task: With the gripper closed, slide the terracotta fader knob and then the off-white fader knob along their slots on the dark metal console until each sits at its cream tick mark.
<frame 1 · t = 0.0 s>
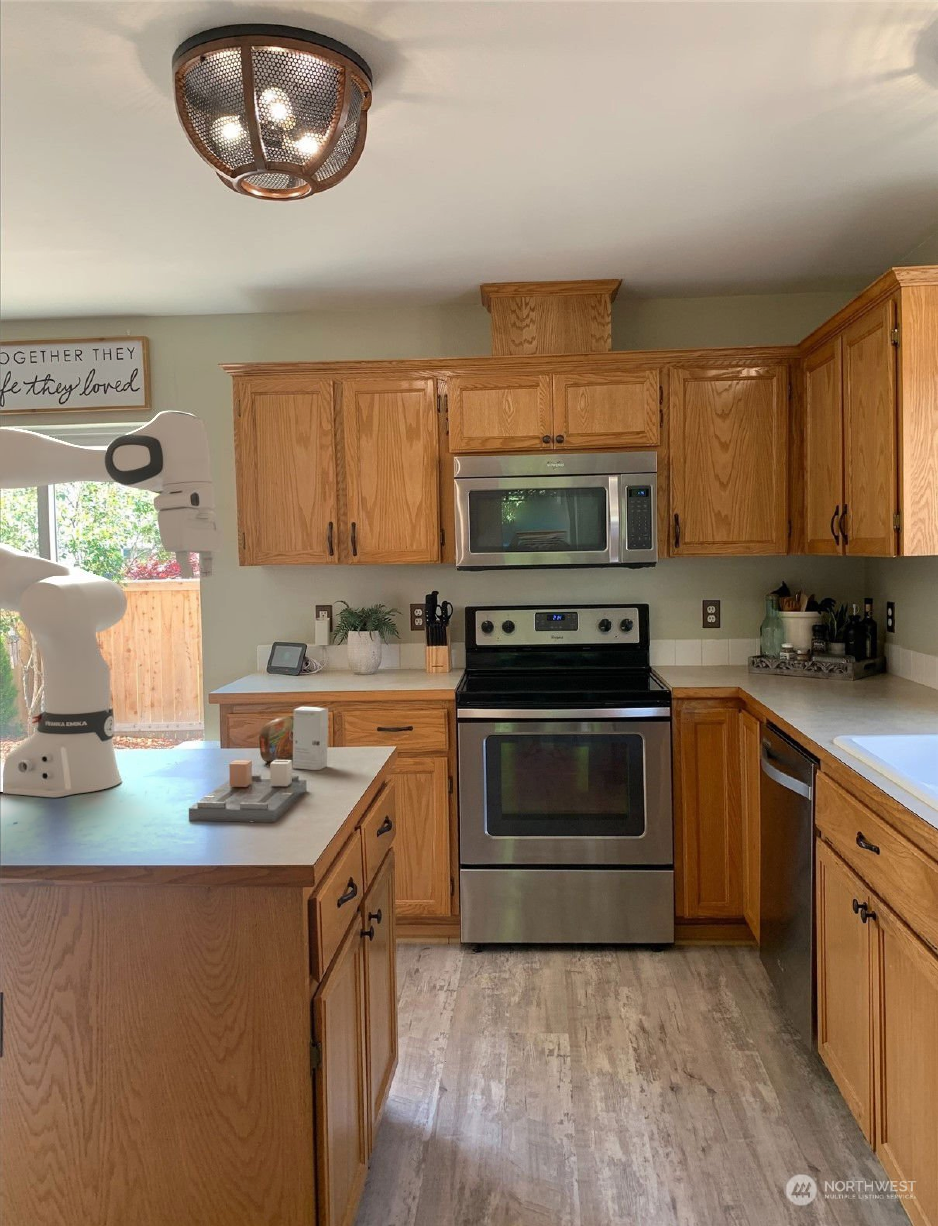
hand: (198, 577, 163), 39 cm above the table, tool pointing down, fingers open, 8 cm apart
fader a: (240, 773, 159), point 4 cm above the table, slide at 5.0 cm
skincare box: (310, 768, 182), on the table
tin: (278, 759, 190), on the table
console: (251, 804, 154), on the table
fader b: (281, 772, 159), point 4 cm above the table, slide at 6.0 cm
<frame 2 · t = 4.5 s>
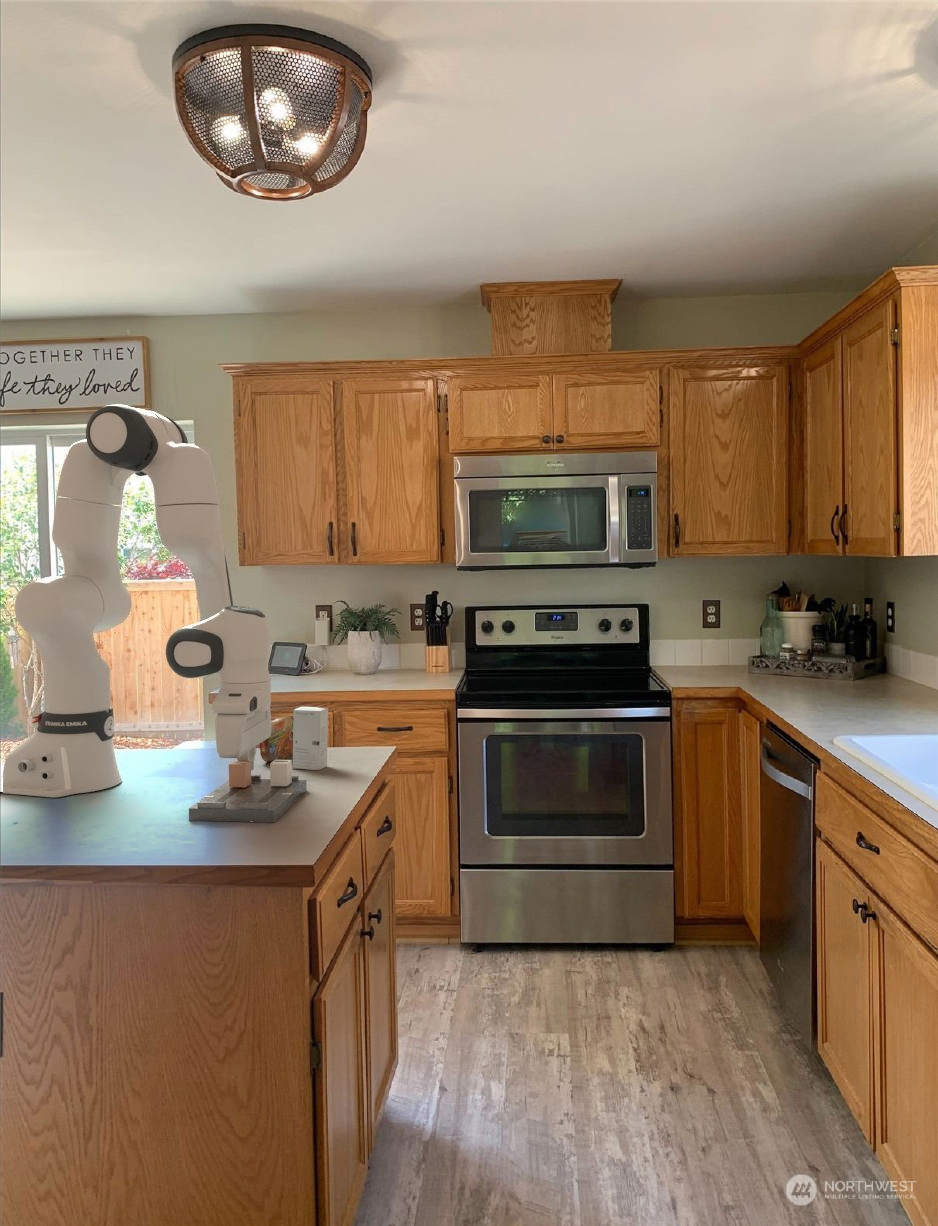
hand: (246, 772, 162), 4 cm above the table, tool pointing down, fingers closed
fader a: (240, 773, 158), point 4 cm above the table, slide at 4.6 cm, touching gripper
everything else where it was.
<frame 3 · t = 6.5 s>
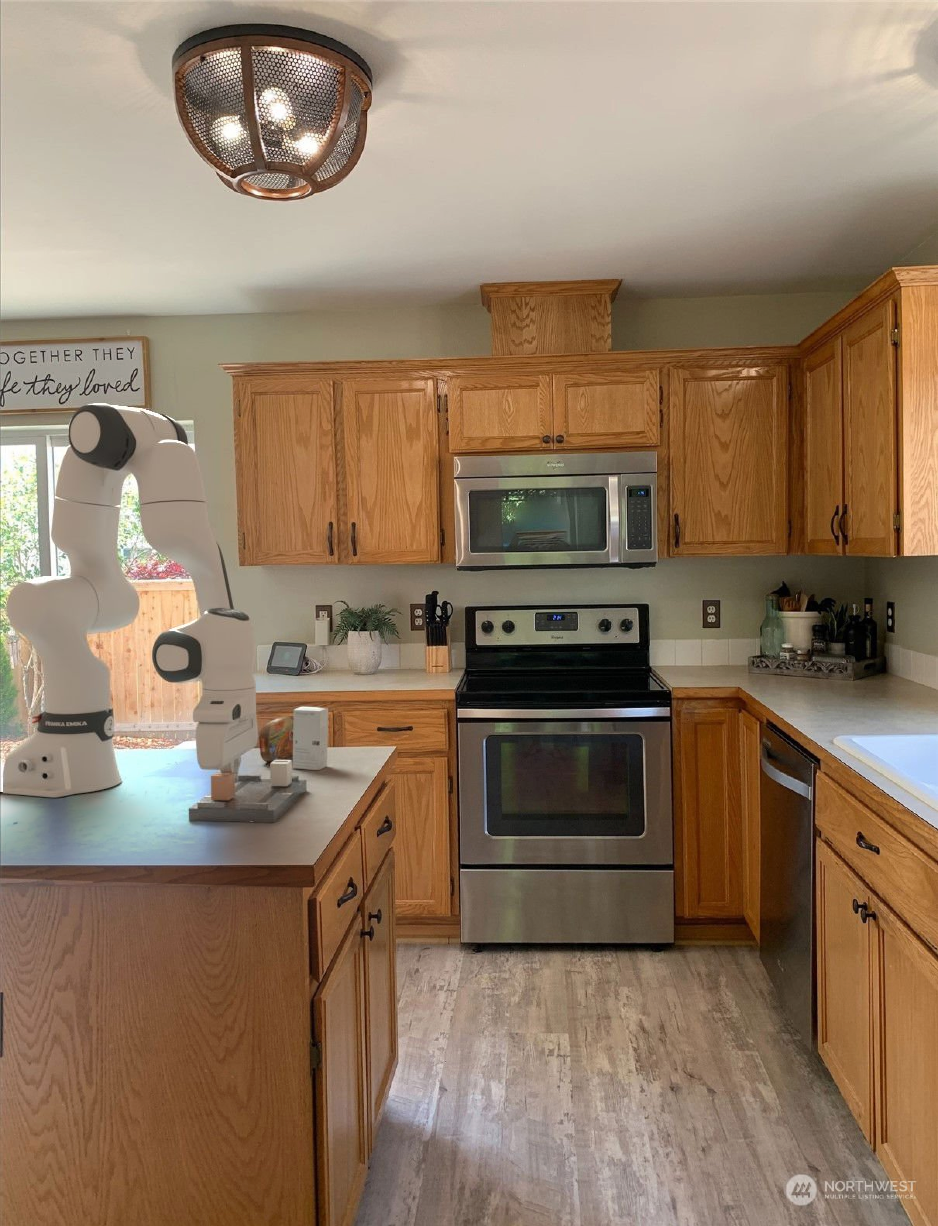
hand: (230, 784, 153), 4 cm above the table, tool pointing down, fingers closed
fader a: (223, 785, 150), point 4 cm above the table, slide at -3.9 cm, touching gripper
everything else where it was.
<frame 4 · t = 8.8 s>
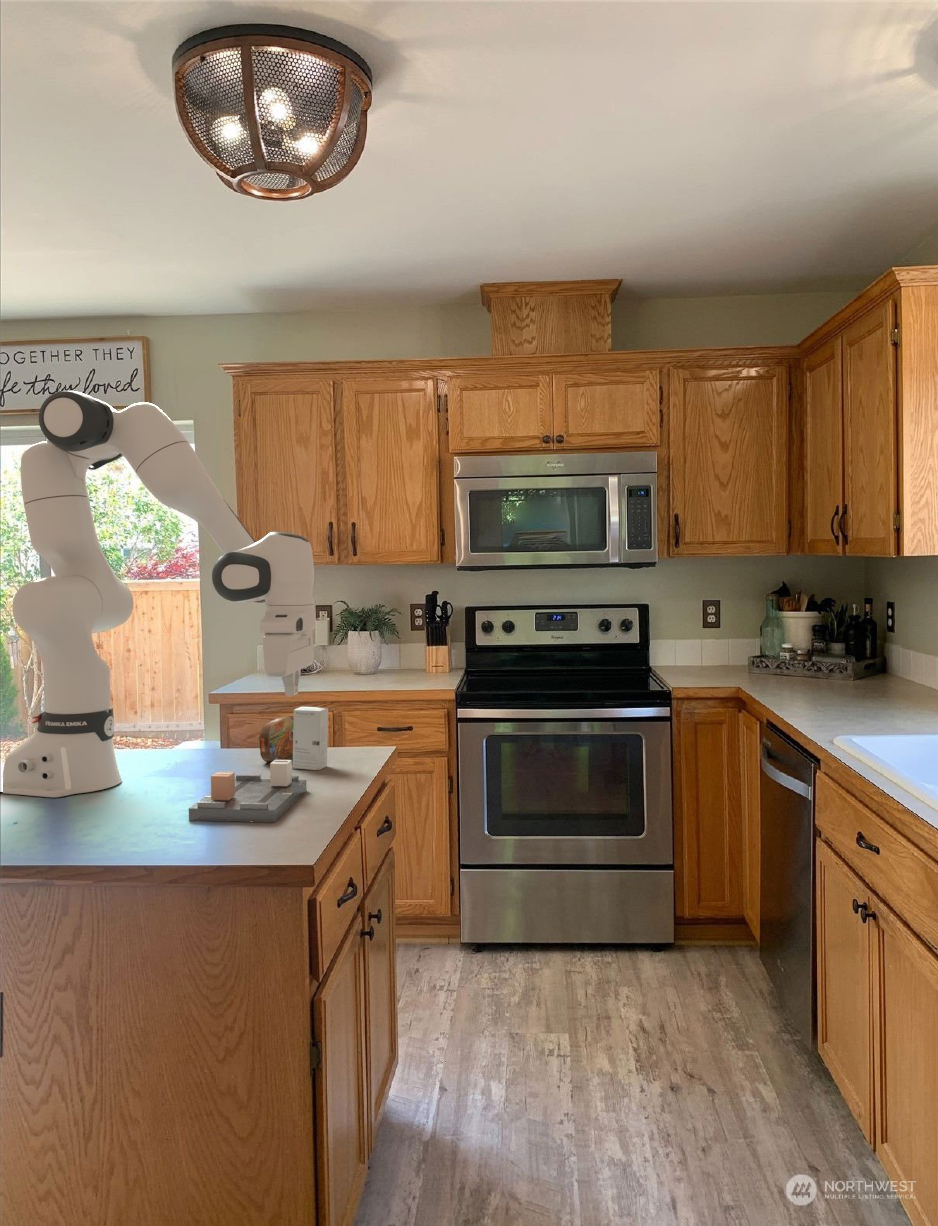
hand: (291, 695, 165), 17 cm above the table, tool pointing down, fingers closed
fader a: (223, 785, 150), point 4 cm above the table, slide at -3.9 cm
everything else where it was.
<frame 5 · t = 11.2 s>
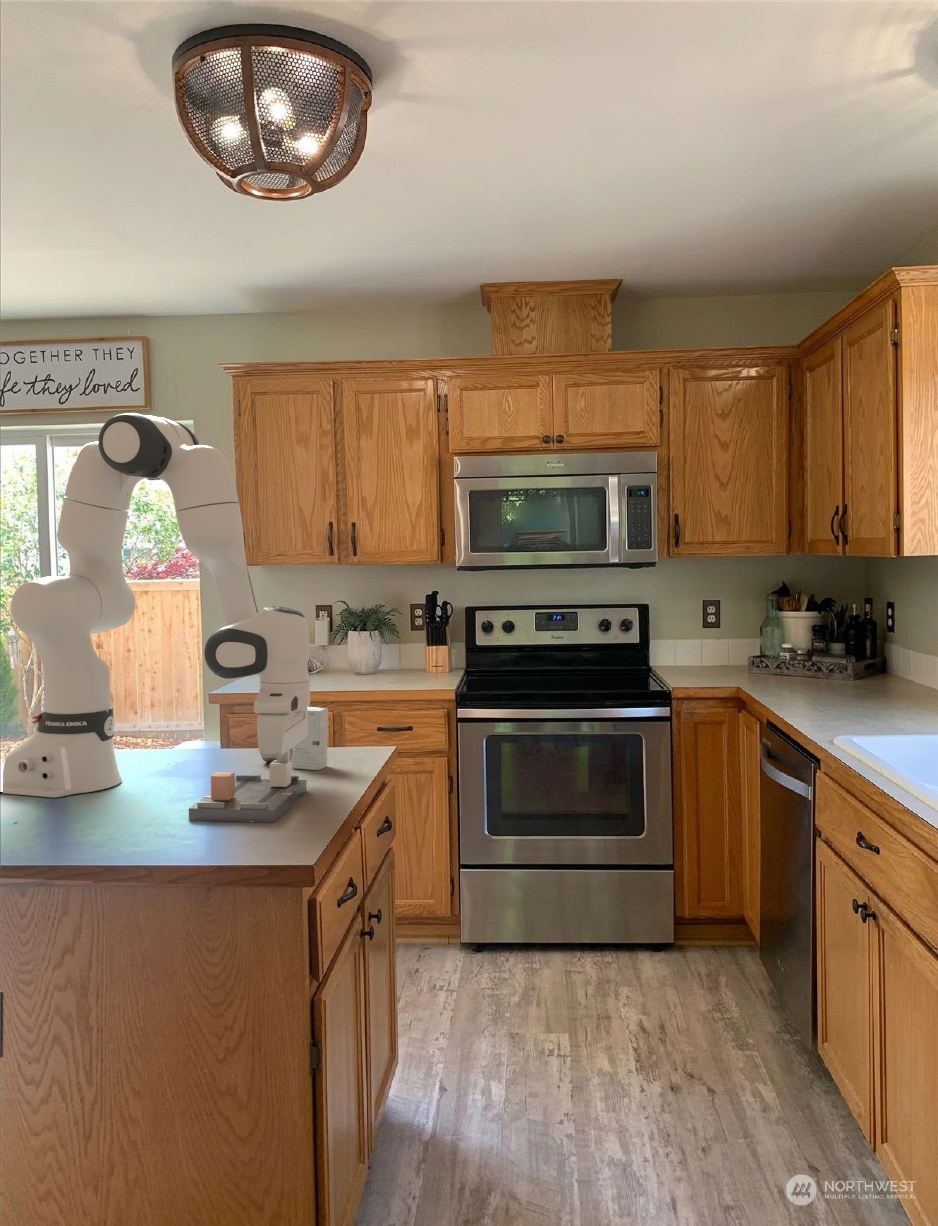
hand: (285, 772, 162), 4 cm above the table, tool pointing down, fingers closed
fader b: (280, 773, 159), point 4 cm above the table, slide at 5.5 cm, touching gripper
everything else where it was.
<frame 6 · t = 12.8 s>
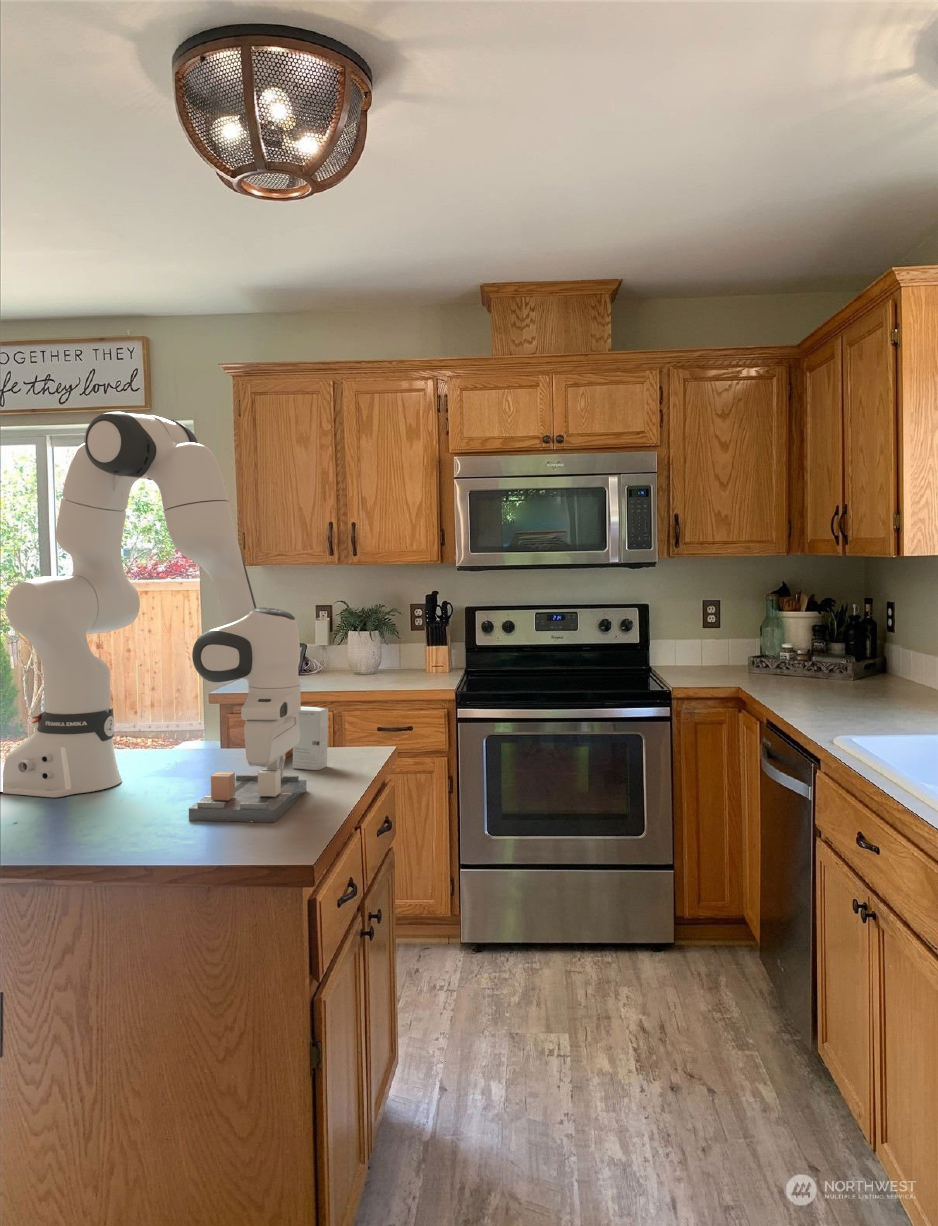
hand: (275, 780, 156), 4 cm above the table, tool pointing down, fingers closed
fader b: (269, 782, 152), point 4 cm above the table, slide at -0.9 cm, touching gripper
everything else where it was.
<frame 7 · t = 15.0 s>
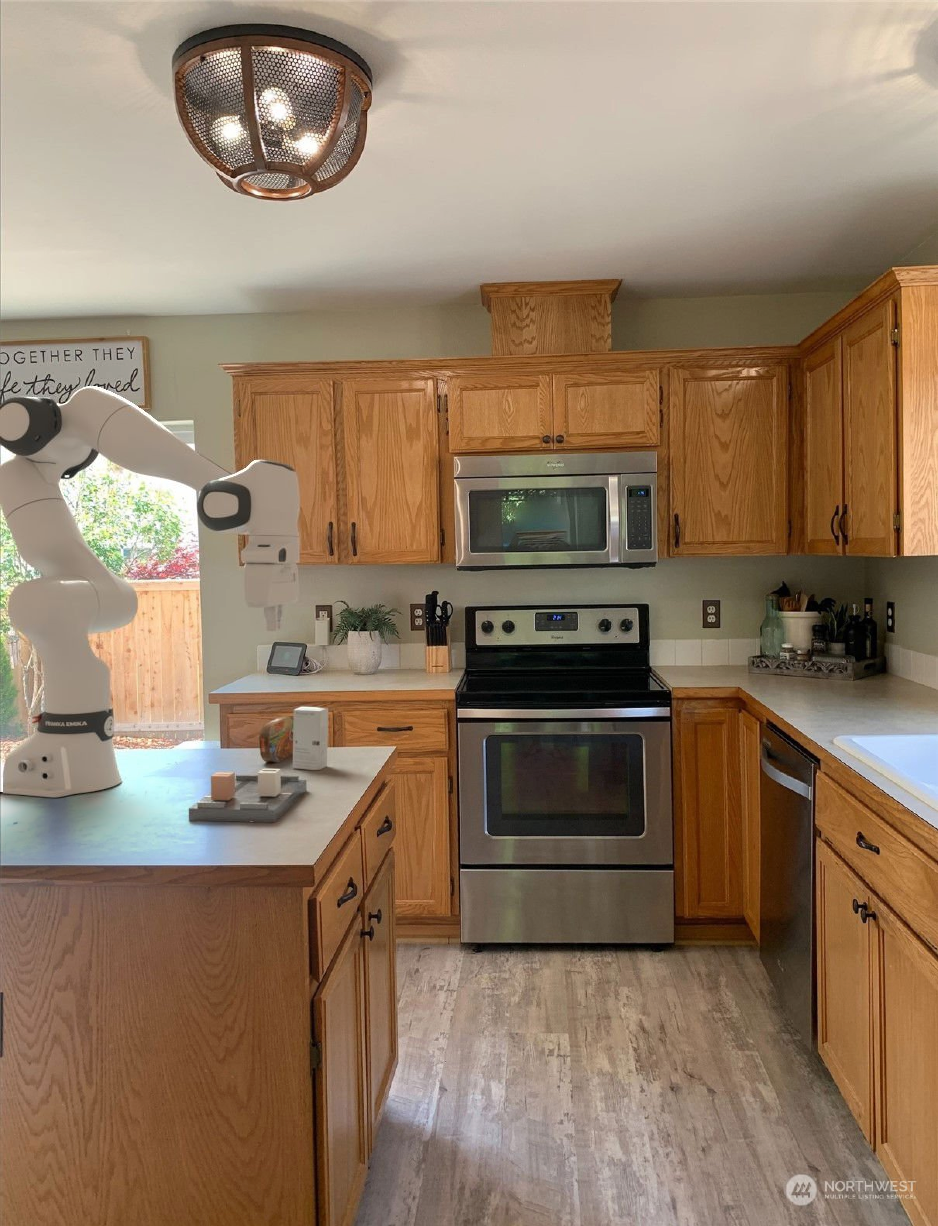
hand: (273, 630, 159), 29 cm above the table, tool pointing down, fingers closed
fader b: (269, 782, 152), point 4 cm above the table, slide at -0.9 cm
everything else where it was.
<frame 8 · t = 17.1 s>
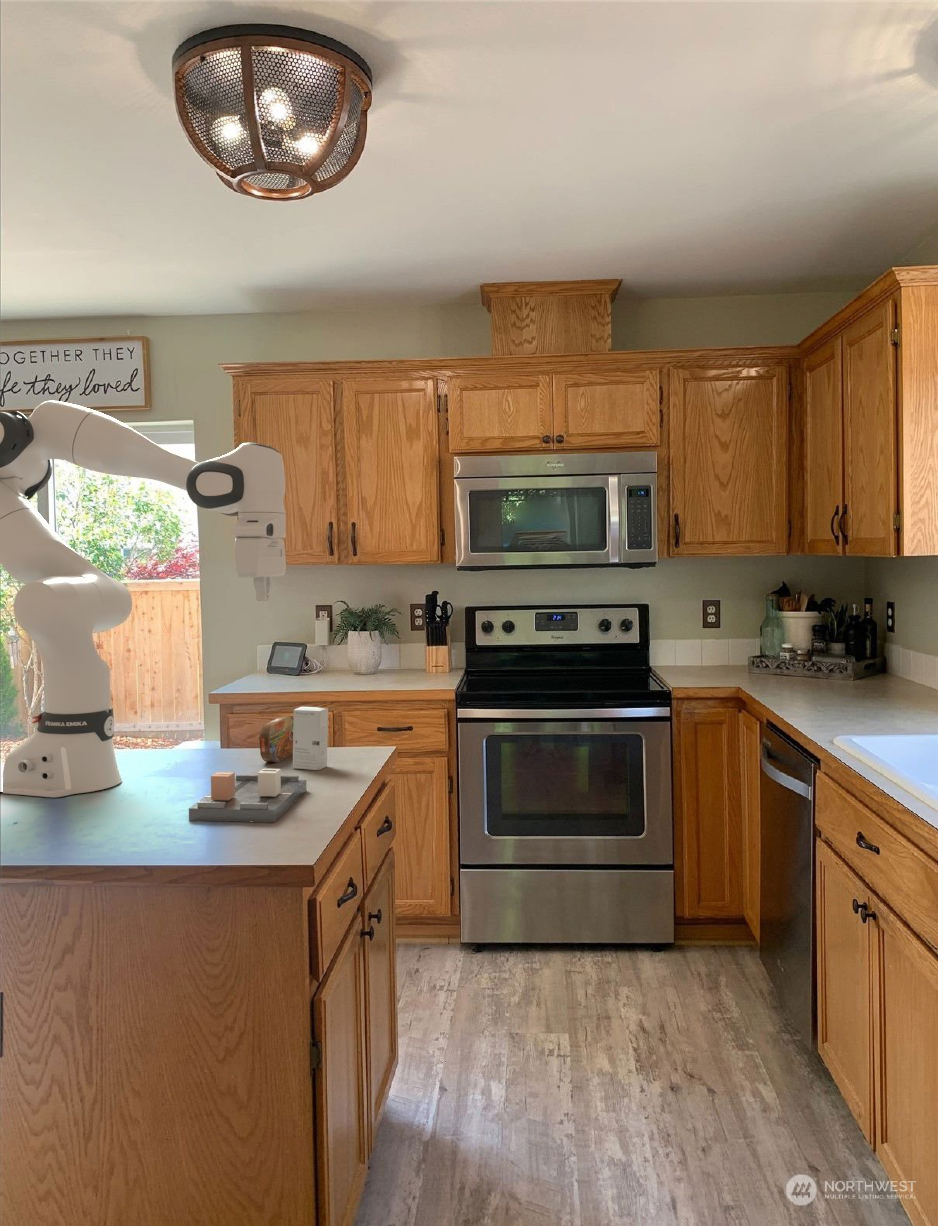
hand: (263, 600, 172), 34 cm above the table, tool pointing down, fingers closed
nothing on the table moved.
at the end: fader a slide at -3.9 cm; fader b slide at -0.9 cm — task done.
